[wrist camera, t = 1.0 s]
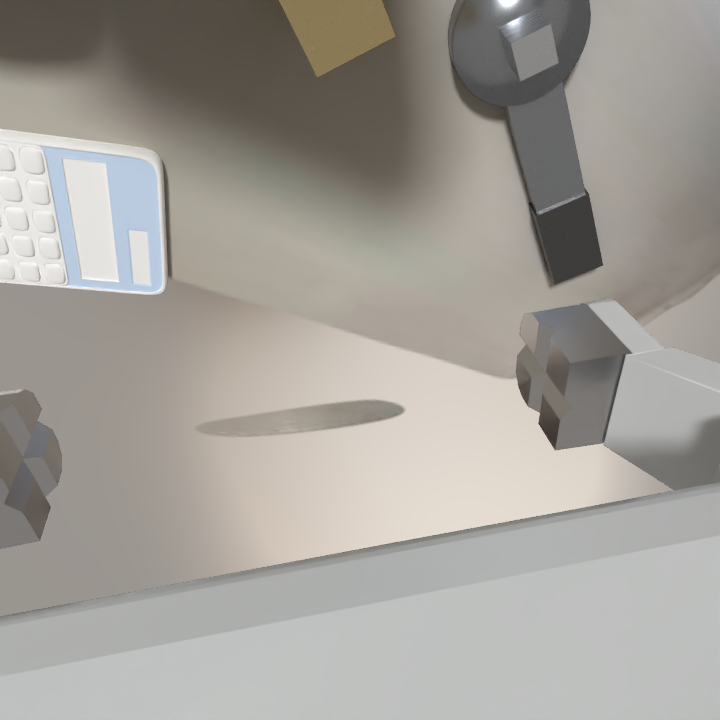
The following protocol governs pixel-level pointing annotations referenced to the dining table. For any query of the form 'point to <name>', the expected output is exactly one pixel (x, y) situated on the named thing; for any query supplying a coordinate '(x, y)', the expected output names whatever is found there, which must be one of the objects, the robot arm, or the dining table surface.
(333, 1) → the tan rectangular block
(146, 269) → the calculator
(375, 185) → the dining table surface
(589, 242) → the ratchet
